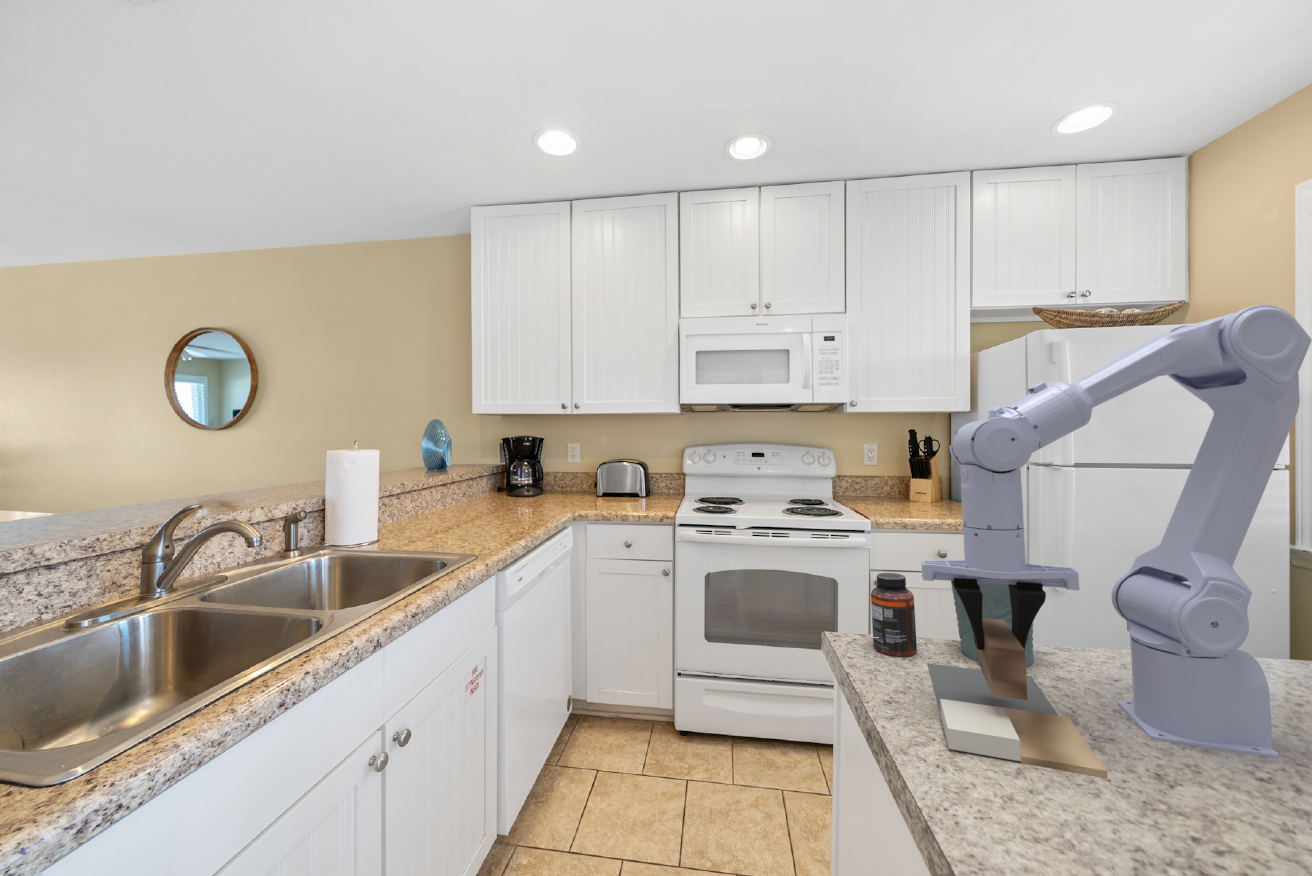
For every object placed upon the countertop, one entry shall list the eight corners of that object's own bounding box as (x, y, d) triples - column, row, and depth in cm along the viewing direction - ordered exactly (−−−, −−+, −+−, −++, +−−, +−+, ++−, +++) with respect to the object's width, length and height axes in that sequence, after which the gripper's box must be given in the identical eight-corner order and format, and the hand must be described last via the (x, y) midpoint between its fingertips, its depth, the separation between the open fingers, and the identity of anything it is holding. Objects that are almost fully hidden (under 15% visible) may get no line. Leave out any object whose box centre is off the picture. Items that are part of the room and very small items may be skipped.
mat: (1031, 678, 67) (1031, 675, 67) (1095, 773, 47) (1095, 769, 47) (927, 665, 71) (927, 663, 71) (947, 747, 52) (947, 744, 52)
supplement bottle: (907, 644, 79) (904, 570, 79) (924, 659, 73) (920, 580, 74) (867, 643, 80) (864, 570, 80) (880, 659, 74) (877, 580, 74)
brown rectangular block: (1005, 661, 61) (1003, 619, 61) (1027, 700, 52) (1024, 650, 52) (976, 658, 62) (974, 617, 62) (992, 695, 53) (990, 646, 53)
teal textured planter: (1054, 674, 67) (1050, 583, 68) (971, 671, 69) (967, 582, 69) (1014, 645, 77) (1010, 565, 78) (942, 643, 79) (939, 565, 79)
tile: (1003, 707, 55) (1019, 739, 49) (1004, 728, 55) (1020, 762, 49) (940, 698, 57) (947, 728, 51) (940, 718, 57) (948, 750, 51)
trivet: (1068, 725, 55) (1067, 716, 55) (1107, 781, 46) (1106, 770, 46) (997, 714, 58) (997, 706, 58) (1020, 765, 49) (1020, 755, 49)
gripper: (1061, 523, 58) (1067, 643, 58) (917, 520, 64) (923, 629, 63) (1083, 532, 52) (1091, 668, 51) (921, 528, 57) (927, 650, 57)
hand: (998, 648), depth 57 cm, fingers closed on brown rectangular block, 3 cm apart
